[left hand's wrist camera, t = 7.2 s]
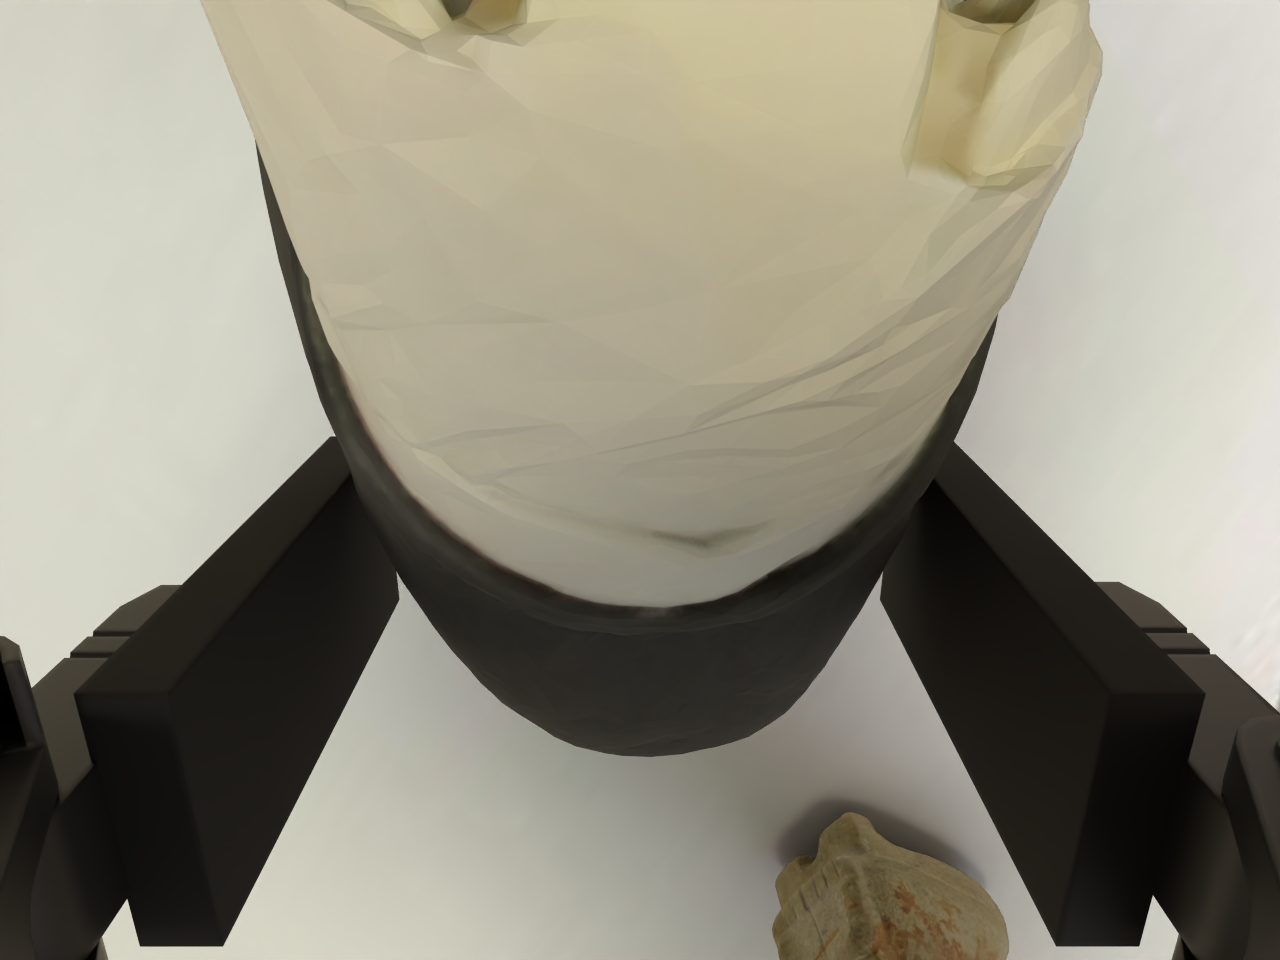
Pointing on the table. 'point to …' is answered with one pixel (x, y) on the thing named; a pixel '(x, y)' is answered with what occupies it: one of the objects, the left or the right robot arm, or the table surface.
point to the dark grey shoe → (651, 310)
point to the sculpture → (881, 903)
